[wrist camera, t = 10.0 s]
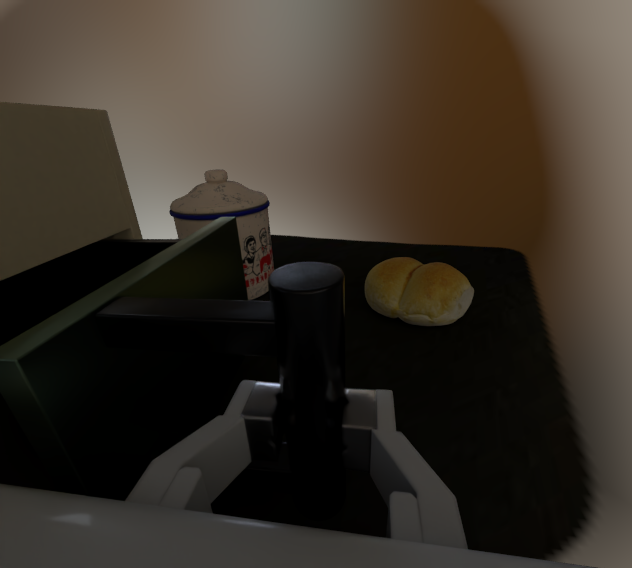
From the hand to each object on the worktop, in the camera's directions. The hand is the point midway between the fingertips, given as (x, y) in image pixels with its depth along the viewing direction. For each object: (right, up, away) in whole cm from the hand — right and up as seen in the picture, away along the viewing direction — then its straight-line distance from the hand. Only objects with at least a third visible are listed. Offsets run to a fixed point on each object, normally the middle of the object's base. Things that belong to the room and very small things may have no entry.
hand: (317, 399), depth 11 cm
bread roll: (+9, +2, +18) cm, 21 cm away
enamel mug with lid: (-8, +4, +25) cm, 26 cm away
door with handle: (-9, -3, +7) cm, 11 cm away
